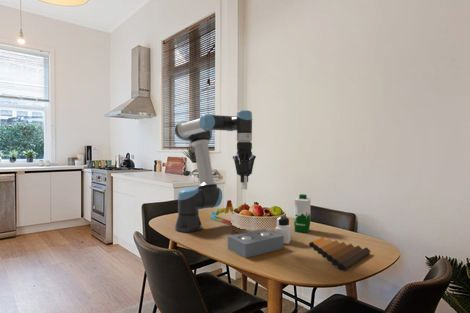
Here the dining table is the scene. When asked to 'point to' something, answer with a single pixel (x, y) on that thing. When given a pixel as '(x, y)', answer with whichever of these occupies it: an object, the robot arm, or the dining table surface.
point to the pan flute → (339, 252)
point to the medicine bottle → (284, 229)
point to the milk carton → (302, 213)
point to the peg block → (255, 243)
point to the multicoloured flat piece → (226, 210)
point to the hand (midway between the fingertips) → (244, 188)
